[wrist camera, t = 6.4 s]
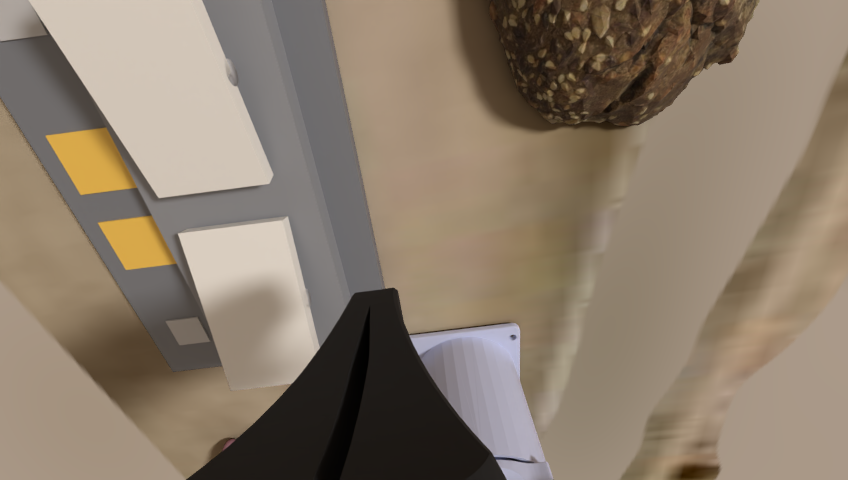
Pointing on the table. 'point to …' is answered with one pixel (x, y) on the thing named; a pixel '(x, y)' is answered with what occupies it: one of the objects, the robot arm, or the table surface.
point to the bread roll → (614, 52)
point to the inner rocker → (253, 300)
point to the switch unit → (166, 217)
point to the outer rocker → (162, 90)
